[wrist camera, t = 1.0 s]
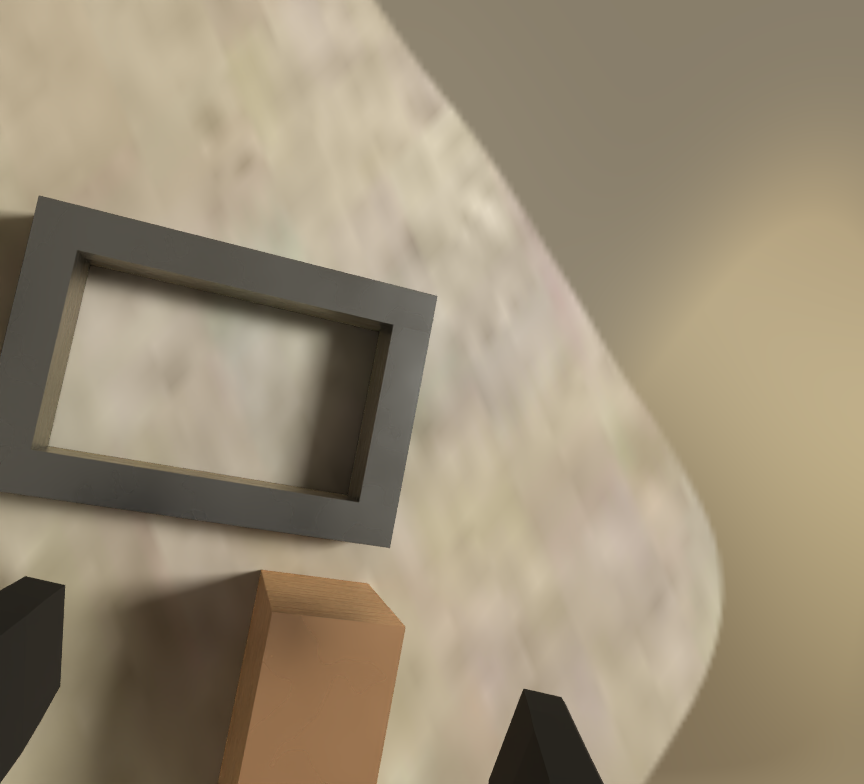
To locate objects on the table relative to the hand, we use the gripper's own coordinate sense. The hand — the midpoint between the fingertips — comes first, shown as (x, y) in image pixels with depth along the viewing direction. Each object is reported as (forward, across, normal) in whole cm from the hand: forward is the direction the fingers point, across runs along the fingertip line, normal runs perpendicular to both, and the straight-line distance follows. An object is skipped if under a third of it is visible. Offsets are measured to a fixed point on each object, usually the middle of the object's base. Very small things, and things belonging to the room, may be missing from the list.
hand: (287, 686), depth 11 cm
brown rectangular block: (+9, 0, +9) cm, 13 cm away
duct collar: (+12, +5, +1) cm, 13 cm away
